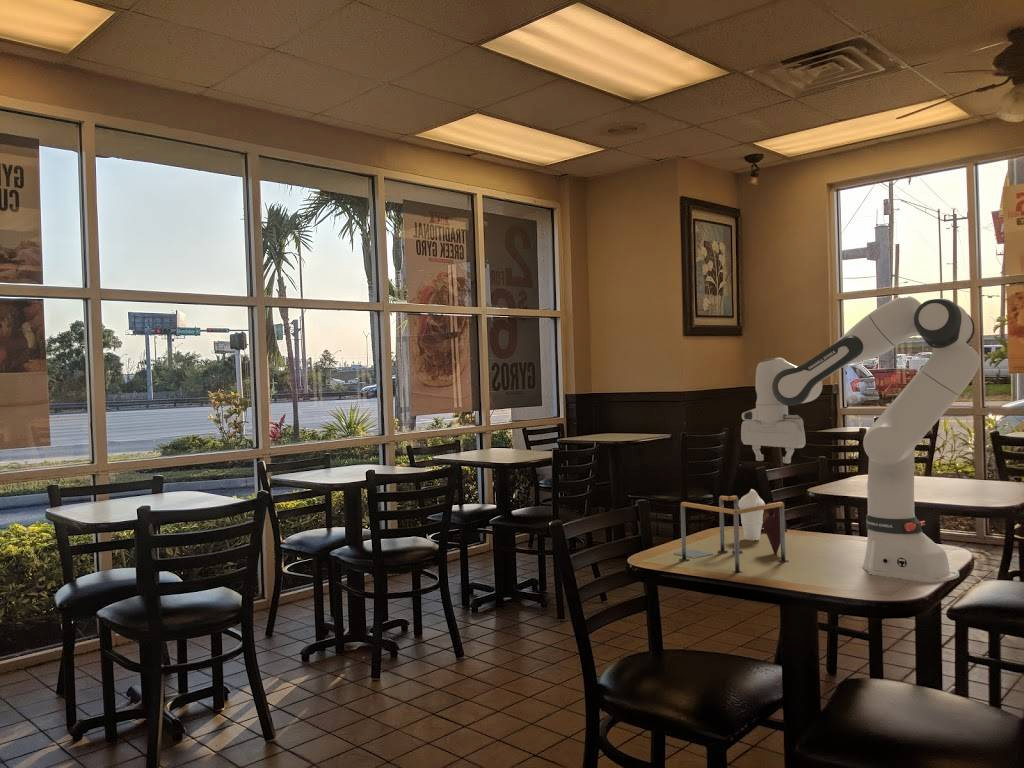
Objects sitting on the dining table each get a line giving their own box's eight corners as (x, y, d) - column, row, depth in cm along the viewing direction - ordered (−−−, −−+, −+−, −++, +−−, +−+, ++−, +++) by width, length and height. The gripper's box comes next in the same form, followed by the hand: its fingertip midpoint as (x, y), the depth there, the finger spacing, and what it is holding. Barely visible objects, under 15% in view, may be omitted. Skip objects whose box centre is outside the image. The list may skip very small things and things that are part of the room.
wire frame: (788, 563, 221) (787, 502, 220) (737, 575, 209) (736, 511, 209) (729, 550, 238) (727, 494, 238) (679, 561, 226) (677, 502, 226)
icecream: (794, 555, 229) (792, 503, 229) (772, 558, 227) (770, 505, 227) (779, 550, 236) (777, 500, 236) (757, 553, 234) (756, 502, 233)
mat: (713, 555, 233) (713, 553, 233) (694, 559, 228) (694, 557, 228) (692, 550, 239) (692, 549, 239) (673, 554, 235) (673, 553, 235)
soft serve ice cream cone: (733, 538, 256) (732, 488, 256) (756, 535, 258) (754, 486, 258) (748, 543, 248) (747, 491, 248) (771, 540, 250) (770, 489, 250)
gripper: (809, 414, 224) (811, 463, 224) (751, 412, 241) (752, 458, 241) (795, 415, 221) (796, 465, 221) (737, 413, 238) (738, 460, 238)
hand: (773, 461), depth 231 cm, fingers open, 8 cm apart
